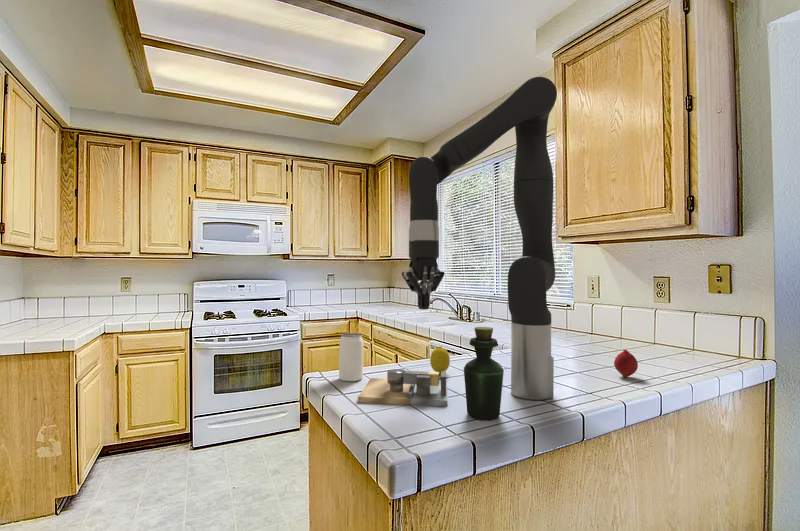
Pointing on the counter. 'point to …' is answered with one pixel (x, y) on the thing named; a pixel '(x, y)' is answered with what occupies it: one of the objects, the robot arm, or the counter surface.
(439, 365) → the lemon
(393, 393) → the board
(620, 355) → the onion
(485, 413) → the potion bottle
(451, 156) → the robot arm
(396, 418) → the counter surface
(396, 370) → the swing bar
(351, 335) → the can
